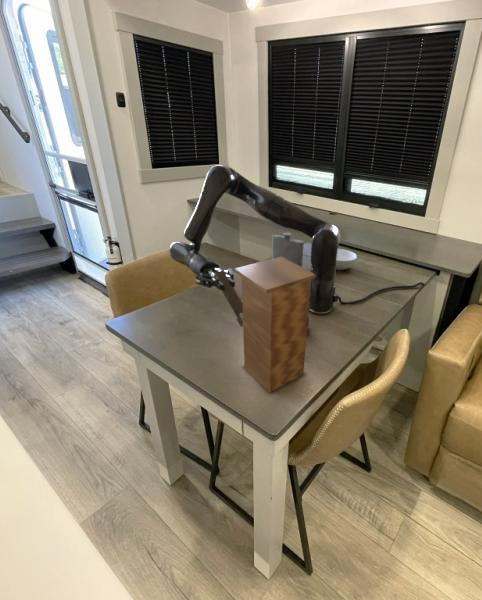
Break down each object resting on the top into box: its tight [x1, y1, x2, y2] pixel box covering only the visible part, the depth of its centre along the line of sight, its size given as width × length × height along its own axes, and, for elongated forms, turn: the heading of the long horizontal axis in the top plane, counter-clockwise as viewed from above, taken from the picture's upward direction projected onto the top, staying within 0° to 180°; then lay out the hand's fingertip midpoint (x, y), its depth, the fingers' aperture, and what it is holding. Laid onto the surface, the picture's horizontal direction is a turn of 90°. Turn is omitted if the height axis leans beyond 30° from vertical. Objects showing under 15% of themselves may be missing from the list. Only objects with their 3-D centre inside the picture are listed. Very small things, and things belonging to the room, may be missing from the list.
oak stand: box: [233, 257, 316, 393], centre depth 90 cm, size 15×14×32 cm
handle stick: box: [214, 269, 243, 328], centre depth 104 cm, size 4×20×3 cm
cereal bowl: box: [336, 248, 358, 271], centre depth 167 cm, size 17×17×7 cm
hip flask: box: [271, 232, 305, 268], centre depth 152 cm, size 16×4×20 cm, turn 62°
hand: (228, 286), depth 105 cm, fingers closed on handle stick, 3 cm apart
